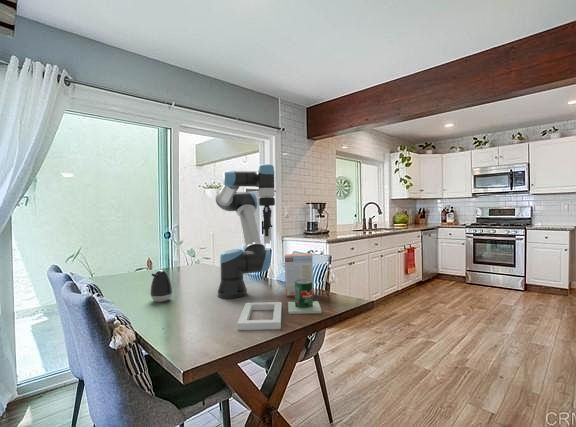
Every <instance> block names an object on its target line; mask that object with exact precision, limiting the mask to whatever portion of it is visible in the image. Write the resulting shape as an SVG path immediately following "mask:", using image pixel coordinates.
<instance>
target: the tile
mask: <svg viewBox="0 0 576 427" xmlns="http://www.w3.org/2000/svg"><path fill="white" fill-rule="evenodd" d="M287 307H288V308H287V309H288V310H287V311H288V314H289V315H298V314H299V315H300V314H303V315H304V314H305V315H306V314H322V313H323V312H322V308H321V305H320V303H319V301H318V300H315V301H313V307H311V308H307V309H301V308H297V307H295V301H288V302H287Z"/></svg>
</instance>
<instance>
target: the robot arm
mask: <svg viewBox="0 0 576 427" xmlns="http://www.w3.org/2000/svg"><path fill="white" fill-rule="evenodd" d="M222 183H223V186H222V188H221V189H220V191H218V192H217V194H216V196H215V203H216V205H217V206H218V207H219V208H220V209H222V210H224V211H226V212H235V213H236V215H237V216H238V217H239V219H240V224H241V228H242V235H243V238H244V244H245V248H244V251H243V249H242V248H237V249H236V248H234V249H229V250H225V251H223V252H222V253H221V254H220V256H219V258H220V259H219V263H220V265H219V266H220V283H219V286H218V289H217V297H219V298H221V299H238V298H243V297H245V296H247V295H248V288H247V287H246V283H245V280H244V274H253V273H254V274H257V273H262V272H264V273H265V272H268V271H269V269H270V268H271V258H272V256H271V251H270V250H269V249H266V246H265V244H269V245H270V244H271V242H272V228H273V224H272V221H271V220H272V219H271V218H272V209H271V206H273V207H274V206H275V205H276V203H275V202H276V200H275V199H276V198H275V195H276V194H275V193H276V192H277V191H276V190H275V167H274V164H267V163H266V164H263V163H262V164H259V165H258V168H257V170H256V171H254V170H253V171H250V170H245V171H243V170H225V171H224V172H223V174H222ZM240 187H256V188H258V197H259V198H258V199H257V196H256V194H255V193H254V192H252V191H238V190H239V188H240ZM258 206H260V207H262V206H263V208H262V218H263V226H262V227H261V229H262V230H263V244H262V242H261V241H262V240H261V238H260V233H259V229H258V225H257V219H256V215H255V213H256V211H257V209H258Z"/></svg>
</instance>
